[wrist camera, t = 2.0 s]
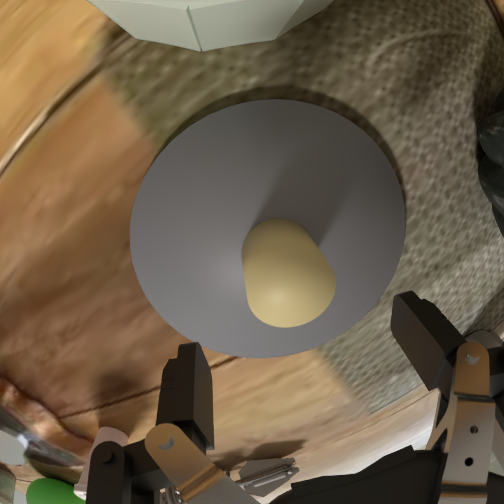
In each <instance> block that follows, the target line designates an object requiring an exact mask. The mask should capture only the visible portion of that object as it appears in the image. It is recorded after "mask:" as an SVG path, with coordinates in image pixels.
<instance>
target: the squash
mask: <svg viewBox="0 0 504 504" xmlns="http://www.w3.org/2000/svg"><path fill="white" fill-rule="evenodd" d="M495 111H496V113H494V114H492V115H490V116H488V117H487V118H485V119H484V120H482V122H481V123H480V125H479V126H478V129H477V135H478V139H479V141H480V144H481V146H482V148H483V150H484V152H485V153H486V155H485V156H484V157H483V158H482V160H481V161H480V163H479V165H478V176H479V180H480V184H481V186H482V189H483V191H484V193H485V194H486V196H487V198H488V199H489V200H490V202H491V203H492V209H493V214H494V217H495V220H496V222H497V224H498V227H499V229H500V231H501V233H502V236H503V237H504V88H503V89H502V90H501V91H500V92H499V94H498V95H497V98H496V102H495Z"/></svg>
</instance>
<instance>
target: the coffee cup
mask: <svg viewBox="0 0 504 504" xmlns="http://www.w3.org/2000/svg"><path fill="white" fill-rule="evenodd" d="M15 483H16V477H15V476H14V475H12V474H11V473H9V472H7V471H6V470H4V469H2V468H0V503H1V504H13V500H14V490H15Z"/></svg>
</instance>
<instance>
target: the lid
mask: <svg viewBox="0 0 504 504" xmlns="http://www.w3.org/2000/svg"><path fill="white" fill-rule="evenodd" d="M405 228H406V218H405V205H404V200H403V194H402V191H401V187H400V184H399V181H398V178H397V176H396V174H395V172H394V170H393V168H392V166H391V164H390V162H389V160H388V159H387V157H386V156H385V154H384V153H383V151H382V150H381V149H380V147H379V146H378V145H377V144H376V143H375V142H374V141H373V140H372V138H371V137H370V136H369V135H368V134H367V133H366V132H364V131H363V130H362V129H360V128H359V127H358V126H357V125H355V124H354V123H353V122H351V121H350V120H348V119H346V118H344V117H343V116H341V115H339V114H337V113H335V112H333V111H331V110H328V109H325V108H323V107H320V106H317V105H314V104H310V103H305V102H300V101H295V100H282V99H267V100H257V101H249V102H245V103H241V104H237V105H233V106H229V107H226V108H224V109H221V110H219V111H217V112H214V113H212V114H209V115H207V116H206V117H204V118H202V119H201V120H199V121H197V122H196V123H194V124H192V125H191V126H189V127H188V128H186V129H185V130H184V131H183V132H182V133H180V134H179V135H178V136H177V137H176V138H174V139H173V140H172V141H171V142H170V143H169V144H168V145H167V146H166V148H165V149H164V150H163V151H162V152H161V153H160V154H159V155H158V157H157V158H156V160H155V161H154V163H153V164H152V166H151V167H150V169H149V170H148V172H147V173H146V175H145V177H144V179H143V182H142V184H141V186H140V188H139V190H138V193H137V196H136V199H135V203H134V206H133V210H132V216H131V224H130V250H131V256H132V262H133V266H134V269H135V272H136V275H137V278H138V281H139V283H140V285H141V287H142V289H143V292H144V294H145V296H146V297H147V299H148V300H149V302H150V303H151V304H152V306H153V307H154V309H155V310H156V311H157V312H158V313H159V315H160V316H161V317H162V318H163V319H164V320H165V321H166V322H167V323H168V324H169V325H171V326H172V327H173V328H174V329H175V330H176V331H178V332H179V333H181V334H182V335H184V336H185V337H187V338H188V339H190V340H191V341H193V342H199V344H200V345H201V346H203V347H206V348H209V349H211V350H214V351H217V352H220V353H224V354H228V355H232V356H239V357H246V358H273V357H282V356H287V355H293V354H297V353H300V352H304V351H307V350H310V349H313V348H315V347H318V346H320V345H323V344H325V343H327V342H329V341H330V340H332V339H334V338H336V337H338V336H339V335H341V334H342V333H344V332H345V331H347V330H348V329H350V328H351V327H352V326H353V325H355V324H356V323H357V322H358V321H360V320H361V319H362V318H363V317H364V316H365V315H366V314H367V313H368V312H369V311H370V310H371V309H372V307H373V306H374V305H375V304H376V303H377V301H378V300H379V299H380V298H381V296H382V295H383V293H384V291H385V290H386V288H387V287H388V285H389V283H390V281H391V279H392V277H393V275H394V273H395V271H396V269H397V266H398V263H399V260H400V257H401V253H402V249H403V245H404V239H405Z"/></svg>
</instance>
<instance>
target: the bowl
mask: <svg viewBox="0 0 504 504" xmlns="http://www.w3.org/2000/svg"><path fill="white" fill-rule="evenodd" d="M87 1H88V2H90V3H91V4H92V5H94V6H95V7H96V8H98V9H99V10H100V11H102V12H103V13H104V14H106V15H107V16H108V17H110V18H111V19H112V20H113V21H115V22H116V23H117V24H118V25H120V26H121V27H122V28H123V29H125V30H126V31H127V32H128V33H130V34H131V35H132V36H133V37H134V38H136V39H142V40H148V41H154V42H159V43H164V44H170V45H174V46H179V47H184V48H188V49H192V50H196V51H200V52H201V49H202V51H208V50H213V49H218V48H223V47H229V46H235V45H241V44H248V43H255V42H263V41H272V40H273V39H274V40H275V39H276V38H278V37H279V36H281V35H282V34H284V33H286V32H287V31H289V30H290V29H292V28H293V27H295V26H297V25H298V24H300V23H301V22H303V21H305V20H306V19H308V18H310V17H311V16H313V15H315V14H317V13H318V12H320V11H322V10H324V9H325V8H326V7H327V6H328V5H329V4H330V3H332V2H333V1H334V0H87Z"/></svg>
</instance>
